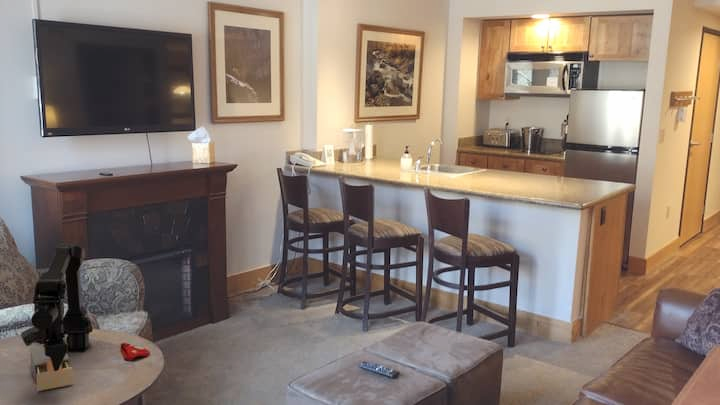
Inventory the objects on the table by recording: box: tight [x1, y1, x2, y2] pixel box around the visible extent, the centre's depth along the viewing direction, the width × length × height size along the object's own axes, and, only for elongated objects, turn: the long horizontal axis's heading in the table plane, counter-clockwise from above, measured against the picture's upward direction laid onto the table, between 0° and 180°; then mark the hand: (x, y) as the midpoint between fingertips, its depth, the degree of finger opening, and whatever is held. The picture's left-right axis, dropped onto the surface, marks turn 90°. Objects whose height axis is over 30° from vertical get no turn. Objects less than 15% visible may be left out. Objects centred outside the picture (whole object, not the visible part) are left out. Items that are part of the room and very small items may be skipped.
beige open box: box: [36, 359, 74, 392], centre depth 194 cm, size 14×10×10 cm
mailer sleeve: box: [29, 345, 70, 383], centre depth 201 cm, size 14×10×6 cm
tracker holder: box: [119, 341, 150, 361], centre depth 216 cm, size 12×4×10 cm
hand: (54, 364), depth 188 cm, fingers open, 9 cm apart
